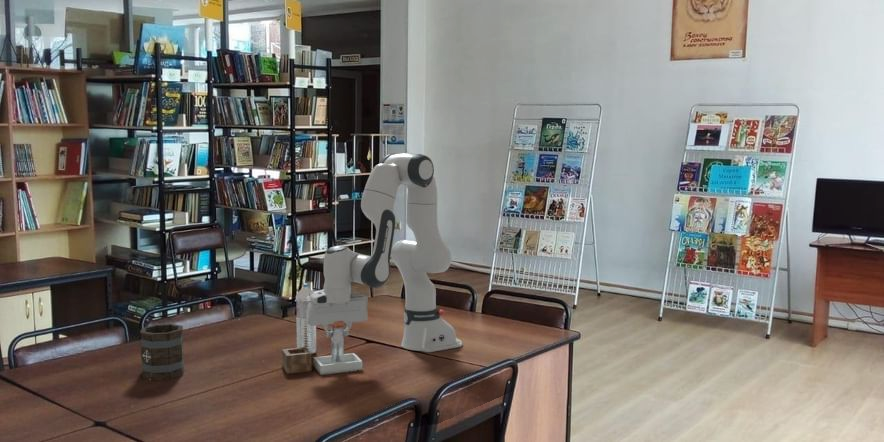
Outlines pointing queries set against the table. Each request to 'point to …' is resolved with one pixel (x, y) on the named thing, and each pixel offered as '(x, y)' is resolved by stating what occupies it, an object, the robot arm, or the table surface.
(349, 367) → the tray
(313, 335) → the water bottle
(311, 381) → the table surface
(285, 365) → the block
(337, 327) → the pin
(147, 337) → the mug
